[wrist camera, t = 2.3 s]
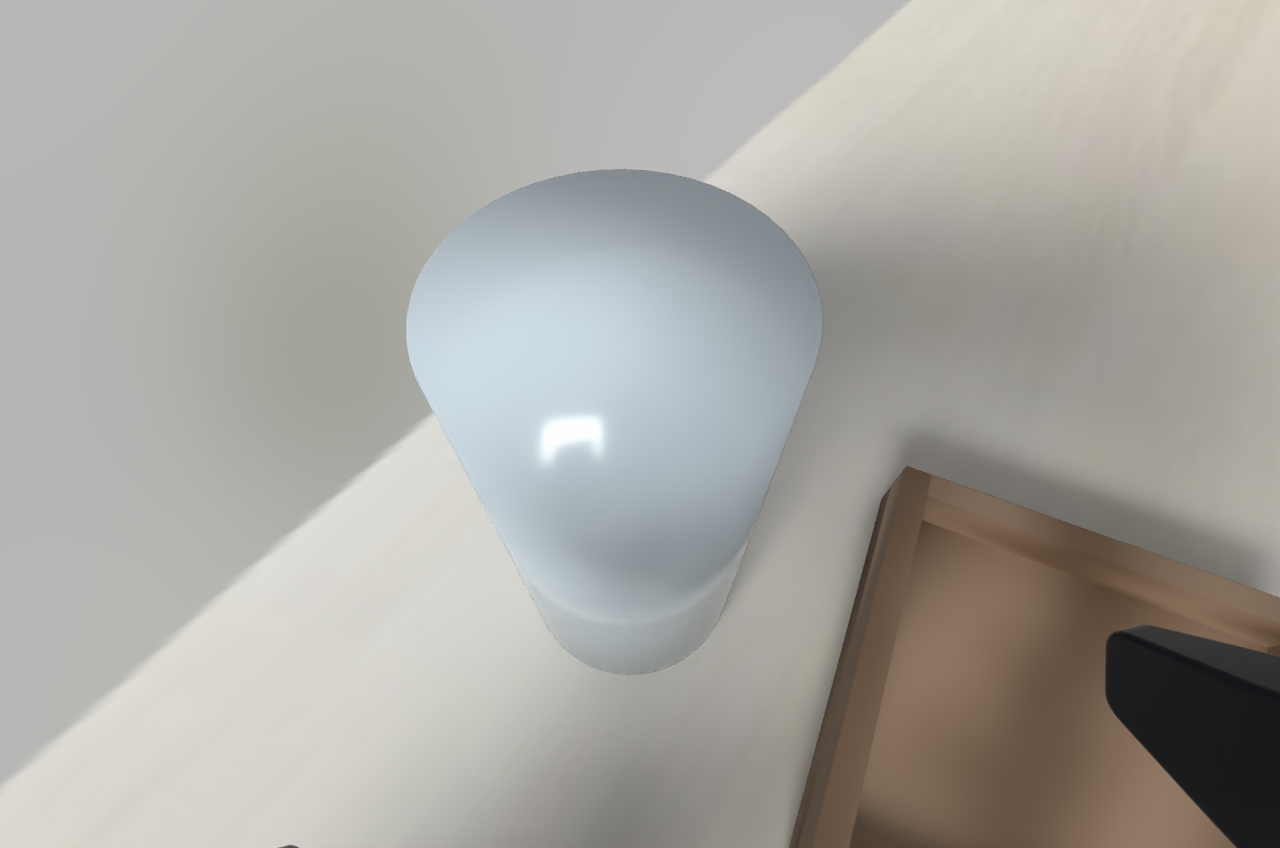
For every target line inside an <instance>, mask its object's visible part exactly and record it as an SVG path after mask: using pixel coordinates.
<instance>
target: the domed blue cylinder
mask: <svg viewBox="0 0 1280 848" xmlns="http://www.w3.org/2000/svg"><path fill="white" fill-rule="evenodd" d="M822 327H823V316H822V304H821V298H820V295H819V291H818V287H817V283H816V280H815V278H814V276H813V274H812V271H811V269H810V267H809V265H808V263H807V261H806V259H805V258H804V256H803V255H802V253H801V252H800V250H799V249H798V247H797V246H796V244H795V243H794V242H793V241H792V240H791V239H790V238H789V236H788V235H787V234H786V233H785V232H784V231H783V230H782V229H781V228H780V227H779V226H778V225H777V224H776V223H775V222H773V221H772V220H771V219H770V218H769V217H768V216H766V215H765V214H764V213H762V212H761V211H759V210H758V209H757V208H755V207H754V206H752V205H751V204H749V203H747V202H745V201H744V200H742V199H740V198H738V197H736V196H735V195H733V194H731V193H729V192H726V191H724V190H722V189H719V188H717V187H715V186H712V185H709V184H706V183H703V182H700V181H697V180H694V179H690V178H686V177H682V176H677V175H673V174H668V173H661V172H653V171H646V170H626V169H617V170H596V171H588V172H579V173H574V174H568V175H564V176H559V177H554V178H550V179H547V180H544V181H540V182H537V183H533V184H531V185H528V186H526V187H523V188H520V189H518V190H515V191H513V192H511V193H509V194H507V195H505V196H503V197H501V198H499V199H497V200H495V201H493V202H491V203H490V204H488V205H486V206H485V207H483V208H482V209H480V210H478V211H477V212H475V213H474V214H472V215H471V216H470V217H469V218H467V219H466V220H465V221H464V222H462V223H461V224H460V225H459V226H457V228H455V229H454V230H453V231H452V232H451V233H450V234H449V235H448V236H447V237H446V238H445V239H444V240H443V241H442V242H441V244H440V245H439V246H438V247H437V249H436V250H435V251H434V253H433V254H432V255H431V257H430V258H429V259H428V261H427V263H426V265H425V266H424V268H423V270H422V271H421V273H420V275H419V277H418V279H417V282H416V285H415V287H414V290H413V292H412V295H411V298H410V303H409V308H408V313H407V324H406V340H407V347H408V354H409V359H410V362H411V365H412V368H413V371H414V374H415V377H416V379H417V381H418V383H419V385H420V387H421V389H422V391H423V393H424V395H425V397H426V398H427V400H428V402H429V404H430V406H431V408H432V410H433V412H434V414H435V415H436V417H437V419H438V421H439V423H440V425H441V427H442V429H443V431H444V432H445V434H446V436H447V438H448V440H449V442H450V444H451V446H452V448H453V449H454V451H455V453H456V455H457V457H458V459H459V461H460V463H461V465H462V466H463V468H464V470H465V472H466V474H467V476H468V478H469V480H470V482H471V484H472V485H473V487H474V489H475V491H476V493H477V495H478V497H479V499H480V501H481V502H482V504H483V506H484V508H485V510H486V512H487V514H488V516H489V518H490V519H491V521H492V523H493V525H494V527H495V529H496V531H497V533H498V535H499V536H500V538H501V540H502V542H503V544H504V546H505V548H506V550H507V552H508V553H509V555H510V557H511V559H512V561H513V563H514V565H515V567H516V569H517V570H518V572H519V574H520V576H521V578H522V580H523V582H524V584H525V586H526V587H527V589H528V591H529V593H530V595H531V597H532V599H533V601H534V603H535V605H536V606H537V608H538V610H539V612H540V614H541V616H542V618H543V620H544V621H545V623H546V625H547V627H548V629H549V631H550V632H551V633H552V635H553V636H554V638H555V639H556V640H557V641H558V642H559V643H560V645H561V646H562V647H563V648H564V649H565V650H566V651H568V652H569V653H570V654H572V655H573V656H574V657H575V658H577V659H579V660H580V661H582V662H584V663H586V664H587V665H589V666H592V667H594V668H597V669H599V670H603V671H607V672H611V673H616V674H627V675H630V674H644V673H650V672H655V671H658V670H661V669H664V668H667V667H670V666H672V665H674V664H676V663H678V662H680V661H681V660H683V659H684V658H686V657H687V656H689V655H690V654H692V653H693V652H694V651H695V650H696V649H697V648H698V647H699V646H700V645H701V644H702V643H703V642H704V641H705V640H706V639H707V637H708V636H709V635H710V633H711V632H712V630H713V629H714V627H715V626H716V624H717V622H718V620H719V617H720V615H721V613H722V611H723V608H724V605H725V603H726V600H727V597H728V595H729V592H730V589H731V587H732V584H733V581H734V579H735V576H736V573H737V571H738V568H739V565H740V563H741V560H742V557H743V555H744V552H745V549H746V547H747V544H748V541H749V539H750V536H751V533H752V531H753V528H754V525H755V523H756V520H757V518H758V515H759V512H760V510H761V507H762V504H763V502H764V499H765V496H766V494H767V491H768V488H769V486H770V483H771V480H772V478H773V475H774V472H775V470H776V467H777V464H778V462H779V459H780V456H781V454H782V451H783V448H784V446H785V443H786V440H787V438H788V435H789V432H790V430H791V427H792V424H793V422H794V419H795V416H796V414H797V411H798V408H799V406H800V403H801V400H802V398H803V395H804V392H805V390H806V387H807V385H808V382H809V379H810V377H811V374H812V371H813V369H814V366H815V363H816V359H817V356H818V352H819V348H820V345H821V338H822Z"/></svg>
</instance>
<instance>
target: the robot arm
mask: <svg viewBox="0 0 1280 848" xmlns="http://www.w3.org/2000/svg"><path fill="white" fill-rule="evenodd" d="M1105 696H1106V699H1107V702H1108V704H1109V706H1110V708H1111V710H1112V711H1113V713H1114V714H1115V716H1116V717H1117V718H1118V719H1119V720H1120V721H1121V723H1122V724H1123V725H1124V726H1125V727H1126V728H1127V729H1128V730H1129V731H1130V732H1131V734H1132V735H1133V736H1134V737H1135V738H1136V739H1137V740H1138V741H1139V742H1140V743H1141V745H1142V746H1143V747H1144V748H1145V749H1146V750H1147V751H1148V752H1149V753H1150V754H1151V756H1152V757H1153V758H1154V759H1155V760H1156V761H1157V762H1158V763H1159V764H1160V765H1161V767H1162V768H1163V769H1164V770H1165V771H1166V772H1167V773H1168V774H1169V775H1170V776H1171V778H1172V779H1173V780H1174V781H1175V782H1176V783H1177V784H1178V785H1179V786H1180V787H1181V789H1182V790H1183V791H1184V792H1185V793H1186V794H1187V795H1188V796H1189V797H1190V798H1191V799H1192V801H1193V802H1194V803H1195V804H1196V805H1197V806H1198V807H1199V808H1200V809H1201V810H1202V812H1203V813H1204V814H1205V815H1206V816H1207V817H1208V818H1209V819H1210V820H1211V821H1212V823H1213V824H1214V825H1215V826H1216V827H1217V828H1218V829H1219V830H1220V831H1221V832H1222V833H1223V834H1224V835H1225V836H1226V837H1227V839H1228V840H1229V841H1230V842H1231V843H1232V844H1233V845H1234V846H1235V847H1236V848H1280V656H1278V655H1274V654H1270V653H1266V652H1262V651H1257V650H1253V649H1249V648H1245V647H1241V646H1237V645H1232V644H1228V643H1224V642H1220V641H1216V640H1212V639H1208V638H1203V637H1199V636H1195V635H1191V634H1187V633H1183V632H1178V631H1174V630H1170V629H1166V628H1162V627H1158V626H1154V625H1147V624H1142V625H1136V626H1132V627H1128V628H1124V629H1121V630H1117V631H1114V632H1112V633H1111V634H1110V635H1109V636H1108V638H1107V640H1106V645H1105ZM279 848H298V847H297V846H294V845H287V846H283V847H279Z"/></svg>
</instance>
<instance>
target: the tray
mask: <svg viewBox="0 0 1280 848" xmlns="http://www.w3.org/2000/svg"><path fill="white" fill-rule="evenodd" d="M1142 624H1147V625H1154V626H1158V627H1162V628H1166V629H1170V630H1174V631H1178V632H1183V633H1187V634H1191V635H1195V636H1199V637H1203V638H1208V639H1212V640H1216V641H1220V642H1224V643H1228V644H1232V645H1237V646H1241V647H1245V648H1249V649H1253V650H1257V651H1262V652H1266V653H1270V654H1274V655H1278V656H1280V598H1279V597H1276V596H1273V595H1270V594H1267V593H1265V592H1262V591H1259V590H1256V589H1253V588H1250V587H1248V586H1245V585H1242V584H1239V583H1236V582H1233V581H1231V580H1228V579H1225V578H1222V577H1219V576H1216V575H1214V574H1211V573H1208V572H1205V571H1202V570H1199V569H1197V568H1194V567H1191V566H1188V565H1185V564H1182V563H1180V562H1177V561H1174V560H1171V559H1168V558H1165V557H1163V556H1160V555H1157V554H1154V553H1151V552H1148V551H1146V550H1143V549H1140V548H1137V547H1134V546H1131V545H1129V544H1126V543H1123V542H1120V541H1117V540H1115V539H1112V538H1109V537H1106V536H1103V535H1100V534H1098V533H1095V532H1092V531H1089V530H1086V529H1083V528H1081V527H1078V526H1075V525H1072V524H1069V523H1066V522H1064V521H1061V520H1058V519H1055V518H1052V517H1049V516H1047V515H1044V514H1041V513H1038V512H1035V511H1032V510H1030V509H1027V508H1024V507H1021V506H1018V505H1015V504H1013V503H1010V502H1007V501H1004V500H1001V499H998V498H996V497H993V496H990V495H987V494H984V493H981V492H979V491H976V490H973V489H970V488H967V487H964V486H962V485H959V484H956V483H953V482H950V481H947V480H945V479H942V478H939V477H936V476H933V475H930V474H928V473H925V472H922V471H919V470H916V469H913V468H911V467H908V466H906V467H905V469H904V470H903V471H902V473H901V474H900V475H899V477H898V478H897V479H896V481H895V482H894V483H893V485H892V486H891V488H890V489H889V490H888V492H887V493H886V494H885V496H884V497H883V498H882V500H881V503H880V507H879V511H878V515H877V518H876V522H875V526H874V530H873V534H872V537H871V541H870V545H869V549H868V553H867V556H866V560H865V564H864V568H863V571H862V575H861V579H860V583H859V587H858V590H857V594H856V598H855V602H854V606H853V609H852V613H851V617H850V621H849V624H848V628H847V632H846V636H845V640H844V643H843V647H842V651H841V655H840V659H839V662H838V666H837V670H836V674H835V677H834V681H833V685H832V689H831V693H830V696H829V700H828V704H827V708H826V712H825V715H824V719H823V723H822V727H821V730H820V734H819V738H818V742H817V746H816V749H815V753H814V757H813V761H812V765H811V768H810V772H809V776H808V780H807V784H806V787H805V791H804V795H803V799H802V802H801V806H800V810H799V814H798V818H797V821H796V825H795V829H794V833H793V837H792V840H791V844H790V848H1236V847H1235V846H1234V845H1233V844H1232V843H1231V842H1230V841H1229V840H1228V839H1227V837H1226V836H1225V835H1224V834H1223V833H1222V832H1221V831H1220V830H1219V829H1218V828H1217V827H1216V826H1215V825H1214V824H1213V823H1212V821H1211V820H1210V819H1209V818H1208V817H1207V816H1206V815H1205V814H1204V813H1203V812H1202V810H1201V809H1200V808H1199V807H1198V806H1197V805H1196V804H1195V803H1194V802H1193V801H1192V799H1191V798H1190V797H1189V796H1188V795H1187V794H1186V793H1185V792H1184V791H1183V790H1182V789H1181V787H1180V786H1179V785H1178V784H1177V783H1176V782H1175V781H1174V780H1173V779H1172V778H1171V776H1170V775H1169V774H1168V773H1167V772H1166V771H1165V770H1164V769H1163V768H1162V767H1161V765H1160V764H1159V763H1158V762H1157V761H1156V760H1155V759H1154V758H1153V757H1152V756H1151V754H1150V753H1149V752H1148V751H1147V750H1146V749H1145V748H1144V747H1143V746H1142V745H1141V743H1140V742H1139V741H1138V740H1137V739H1136V738H1135V737H1134V736H1133V735H1132V734H1131V732H1130V731H1129V730H1128V729H1127V728H1126V727H1125V726H1124V725H1123V724H1122V723H1121V721H1120V720H1119V719H1118V718H1117V717H1116V716H1115V714H1114V713H1113V711H1112V710H1111V708H1110V706H1109V704H1108V702H1107V699H1106V696H1105V645H1106V640H1107V638H1108V636H1109V635H1110V634H1111V633H1112V632H1114V631H1117V630H1121V629H1124V628H1128V627H1132V626H1136V625H1142Z"/></svg>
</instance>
